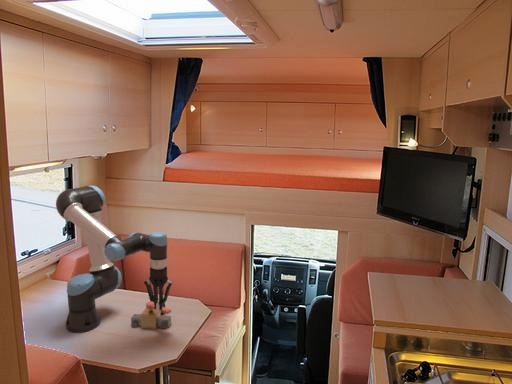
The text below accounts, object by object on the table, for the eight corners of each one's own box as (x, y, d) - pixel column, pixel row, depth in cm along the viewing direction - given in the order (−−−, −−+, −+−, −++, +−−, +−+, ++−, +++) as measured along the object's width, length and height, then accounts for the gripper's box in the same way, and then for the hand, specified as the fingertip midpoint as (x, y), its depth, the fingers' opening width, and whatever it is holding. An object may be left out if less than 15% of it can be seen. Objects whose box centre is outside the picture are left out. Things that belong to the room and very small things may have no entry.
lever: (144, 307, 190) (144, 304, 190) (150, 303, 193) (150, 300, 193) (166, 315, 183) (165, 312, 182) (172, 311, 186) (172, 308, 186)
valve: (130, 327, 190) (129, 309, 188) (135, 320, 196) (134, 302, 195) (167, 329, 188) (167, 311, 187) (171, 321, 195) (171, 304, 194)
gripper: (141, 268, 177) (142, 318, 181) (169, 270, 176) (169, 320, 180) (147, 262, 184) (147, 310, 189) (174, 264, 183) (174, 312, 188)
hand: (158, 315), depth 184 cm, fingers closed
